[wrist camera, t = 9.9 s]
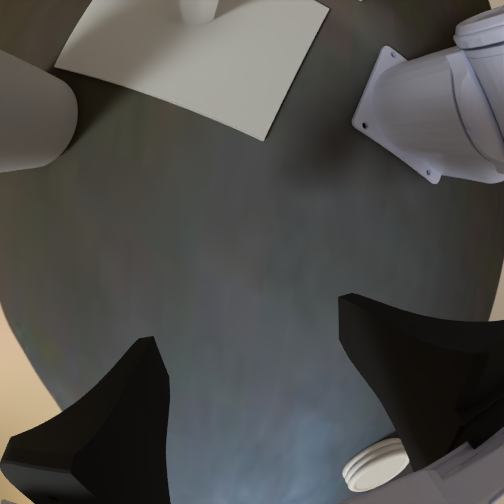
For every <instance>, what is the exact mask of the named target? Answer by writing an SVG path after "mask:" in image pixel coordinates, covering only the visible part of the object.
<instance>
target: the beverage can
mask: <svg viewBox="0 0 504 504" xmlns="http://www.w3.org/2000/svg"><path fill="white" fill-rule="evenodd" d="M77 118H78V107H77V101H76V97H75V95H74V93H73V91H72V89H71V88H70V87H69V86H68V85H67V84H66V83H65V82H64V81H62V80H60V79H58V78H56V77H55V76H53V75H51V74H49V73H47V72H45V71H43V70H41V69H39V68H37V67H35V66H33V65H31V64H29V63H27V62H25V61H23V60H21V59H19V58H17V57H14V56H12V55H10V54H8V53H6V52H4V51H2V50H0V172H7V171H14V170H21V169H29V168H37V167H42V166H44V165H47V164H49V163H51V162H52V161H54V160H55V159H56V158H57V157H58V156H60V155H61V153H62V152H63V151H64V150H65V149H66V147H67V146H68V144H69V143H70V141H71V139H72V136H73V134H74V131H75V128H76V124H77Z"/></svg>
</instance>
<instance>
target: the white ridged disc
mask: <svg viewBox="0 0 504 504" xmlns="http://www.w3.org/2000/svg"><path fill="white" fill-rule="evenodd" d="M408 463H409V458H408V456H407V453H406V451H405V449H404V446H403V444H402V442H401V440H400V439H399V438H390V439H385V440H382V441H380V442H377V443H375V444H373V445H371V446H369V447H367V448H366V449H364V450H362V451H361V452H359V453H358V454H357V455H355V456H354V457H353V458H352V459H351V460H350V461H349V462H348V463H347V464H346V465H345V467H344V469H343V477H344V478H345V481H346V483H347V484H348V488H349V489H350V490H352V491H356V492H361V491H366V490H370V489H373V488H375V487H378V486H380V485H382V484H384V483H386V482H387V481H389V480H390V479H392V478H393V477H395V476H396V475H397V474H399V473H400V472H401V471H402V470H403V469H404V468H405V467H406V466H407V464H408Z"/></svg>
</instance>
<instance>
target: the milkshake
mask: <svg viewBox="0 0 504 504" xmlns="http://www.w3.org/2000/svg"><path fill="white" fill-rule="evenodd" d="M222 2H223V0H167V3H168V5H169V8H170V11H171V14H172V16H173V18H174V19H176V20H177V21H178V22H180V23H181V24H183V25H187V26H201V25H203V24H205V23H207V22H209V21H212V20H213V19H214V17H215V16H216V14H217V13H218V11H219V10H220V7H221V5H222Z"/></svg>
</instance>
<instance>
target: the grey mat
mask: <svg viewBox="0 0 504 504" xmlns="http://www.w3.org/2000/svg"><path fill="white" fill-rule="evenodd" d="M328 11H329V8H327V7H325V6H324V5H322V4H320V3H318V2H316V1H314V0H223V2H222V5H221V7H220V10H219V11H218V13H217V14H216V16H215V17H214V19H213V20H212V21H209V22H207V23H205V24H203V25H201V26H187V25H183V24H181V23H180V22H178V21H177V20H176V19H174V18H173V16H172V14H171V11H170V8H169V5H168V3H167V0H93V1H92V2H91V4H90V5H89V7H88V8H87V10H86V11H85V13H84V14H83V16H82V17H81V19H80V21H79V22H78V24H77V26H76V27H75V29H74V31H73V32H72V34H71V36H70V37H69V39H68V41H67V43H66V44H65V46H64V48H63V50H62V52H61V54H60V56H59V58H58V60H57V62H56V64H55V66H54V67H55V68H58V69H62V70H67V71H71V72H75V73H78V74H82V75H86V76H90V77H93V78H97V79H100V80H104V81H107V82H110V83H114V84H117V85H120V86H123V87H126V88H130V89H133V90H136V91H139V92H142V93H145V94H148V95H150V96H153V97H156V98H159V99H162V100H165V101H167V102H170V103H173V104H175V105H178V106H181V107H183V108H186V109H188V110H191V111H194V112H196V113H199V114H201V115H204V116H206V117H208V118H211V119H213V120H216V121H218V122H220V123H223V124H225V125H227V126H230V127H232V128H234V129H237V130H239V131H241V132H243V133H246V134H248V135H250V136H252V137H254V138H257V139H259V140H261V141H264V139H265V137H266V135H267V133H268V130H269V128H270V126H271V124H272V122H273V120H274V118H275V116H276V114H277V112H278V110H279V107H280V105H281V103H282V101H283V99H284V97H285V95H286V93H287V91H288V89H289V87H290V85H291V83H292V81H293V79H294V77H295V75H296V73H297V71H298V69H299V67H300V65H301V63H302V61H303V59H304V57H305V55H306V53H307V51H308V49H309V47H310V45H311V43H312V41H313V39H314V37H315V36H316V34H317V32H318V30H319V28H320V26H321V24H322V22H323V20H324V18H325V16H326V15H327V13H328Z"/></svg>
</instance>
